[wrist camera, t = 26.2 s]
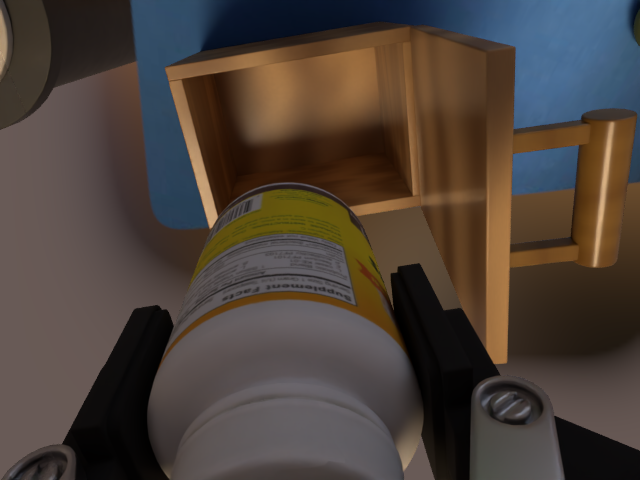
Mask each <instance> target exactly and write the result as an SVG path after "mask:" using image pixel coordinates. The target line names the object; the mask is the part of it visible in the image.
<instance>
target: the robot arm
mask: <svg viewBox="0 0 640 480" xmlns="http://www.w3.org/2000/svg"><path fill="white" fill-rule="evenodd" d="M12 52H13V34H12V28H11V22H10V18H9V15H8V13H7V10H6V7H5V4H4V2H3V0H0V81H1V80H2V79H3V78H4V76H5V74H6V72H7V70H8V68H9V65H10V61H11V57H12ZM391 286H392V296H393V306H394V313H395V316H396V318H397V321H398V324H399V327H400V330H401V333H402V335H403V338H404V341H405V344H406V347H407V349H408V352H409V355H410V358H411V361H412V364H413V367H414V370H415V372H416V375H417V378H418V382H419V386H420V389H421V394H422V399H423V410H424V419H423V427H422V433H421V436H422V439H423V443H424V446H425V449H426V453H427V456H428V459H429V462H430V466H431V468H432V472H433V475H434V478H435V480H640V451H639V450H637V449H634V448H632V447H629V446H627V445H625V444H622V443H620V442H617V441H615V440H612V439H610V438H608V437H605V436H603V435H600V434H598V433H595V432H593V431H590V430H588V429H586V428H583V427H581V426H578V425H576V424H573V423H571V422H568V421H566V420H564V419H561V418H559V417H556V416H554V412H553V407H552V404H551V401H550V399H549V397H548V395H547V394H546V393H545V392H544V391H543V390H542V389H541V388H540V387H539V386H537V385H535V384H534V383H532V382H530V381H528V380H525V379H523V378H519V377H514V376H508V375H507V376H501V375H500V374H499V372H498V370H497V368H496V366H495V365H494V363H493V361H492V359H491V358H490V356H489V354H488V352H487V351H486V349H485V347H484V345H483V344H482V342H481V340H480V339H479V337H478V335H477V333H476V332H475V330H474V328H473V326H472V325H471V323H470V321H469V319H468V318H467V316H466V314H465V312H464V311H463V310H462V309H461V308H457V309H451V310H443V308H442V306H441V304H440V302H439V300H438V298H437V296H436V294H435V292H434V290H433V288H432V286H431V284H430V283H429V281H428V279H427V277H426V275H425V273H424V271H423V269H422V267H421V265H420V264H419V263H418V264H411V265H405V266H399V267H398V272H397V273H391ZM173 328H174V325H173V322H172V320H171V317H170V314H169V312H168V311H167V310H162V309H161V308H160V306H158V305H155V306H149V307H142V308H136V309H135V310H134V311H133V312H132V314H131V316H130V318H129V321H128V322H127V324H126V326H125V328H124V330H123V332H122V333H121V336H120V337H119V339H118V341H117V343H116V345H115V347H114V349H113V351H112V353H111V354H110V356H109V358H108V360H107V362H106V364H105V365H104V367H103V368H102V370H101V371H100V373H99V375H98V377H97V379H96V381H95V383H94V385H93V386H92V388H91V390H90V392H89V394H88V396H87V398H86V400H85V401H84V403H83V405H82V407H81V409H80V411H79V413H78V415H77V417H76V419H75V421H74V422H73V424H72V426H71V428H70V430H69V432H68V434H67V436H66V438H65V439H64V441H63V443H62V444H61V445H60V444H59V445H50V446H47V447H43V448H40V449H38V450H36V451H34V452H32V453H30V454H28V455H27V456H25V457H24V458H22V459H21V460H19V461H18V462H17V463H16V464H15V465H14V466H13V467H12V468H10V469H9V470H8V471H7V473H6V474H5V475H4V477H3V478H2V479H1V480H170V479H169V478H168V477H167V476H166V474H165V473H164V471H163V470H162V468H161V467H160V465H159V463H158V462H157V459H156V457H155V454H154V452H153V449H152V447H151V444H150V440H149V435H148V427H147V410H148V403H149V398H150V393H151V390H152V386H153V383H154V379H155V376H156V374H157V371H158V368H159V366H160V363H161V360H162V357H163V355H164V352H165V349H166V346H167V344H168V341H169V339H170V336H171V333H172V330H173Z"/></svg>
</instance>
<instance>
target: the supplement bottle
mask: <svg viewBox="0 0 640 480" xmlns="http://www.w3.org/2000/svg"><path fill="white" fill-rule="evenodd" d="M423 419H424V410H423V399H422V394H421V389H420V386H419V382H418V378H417V375H416V372H415V370H414V367H413V364H412V361H411V358H410V355H409V352H408V349H407V347H406V344H405V341H404V338H403V335H402V333H401V330H400V327H399V324H398V321H397V318H396V316H395V313H394V310H393V308H392V305H391V302H390V299H389V296H388V294H387V291H386V288H385V285H384V281H383V279H382V277H381V274H380V271H379V268H378V265H377V262H376V259H375V257H374V254H373V252H372V248H371V245H370V243H369V240H368V237H367V235H366V233H365V230H364V228H363V226H362V224H361V223H360V221H359V219H358V218H357V216H356V215H355V214H354V212H353V211H352V210H351V209H350V208H349V207H348V206H347V205H346V204H345V203H344V202H343V201H341V200H340V199H339V198H337V197H336V196H334V195H332V194H331V193H329V192H327V191H325V190H322V189H320V188H318V187H314V186H311V185H307V184H302V183H274V184H269V185H265V186H261V187H258V188H255V189H253V190H251V191H249V192H247V193H245V194H243V195H241V196H240V197H238V198H237V199H236V200H234V201H233V202H232V203H231V204H230V205H229V206H227V207H226V208H225V210H224V211H223V212H222V213H221V214H220V216H219V217H218V218H217V220H216V222H215V223H214V225H213V227H212V229H211V231H210V233H209V235H208V238H207V241H206V243H205V246H204V248H203V251H202V253H201V255H200V258H199V261H198V263H197V267H196V269H195V272H194V275H193V277H192V279H191V282H190V285H189V287H188V290H187V293H186V296H185V298H184V301H183V304H182V306H181V309H180V312H179V314H178V317H177V320H176V323H175V325H174V328H173V330H172V333H171V336H170V339H169V341H168V344H167V346H166V349H165V352H164V355H163V357H162V360H161V363H160V366H159V368H158V371H157V374H156V376H155V379H154V383H153V386H152V390H151V393H150V398H149V403H148V410H147V427H148V435H149V440H150V444H151V447H152V449H153V452H154V454H155V457H156V459H157V462H158V463H159V465H160V467H161V468H162V470H163V471H164V473H165V474H166V476H167V477H168V478H169V479H170V480H404V470H405V469H406V468H407V466H408V464H409V463H410V461H411V459H412V457H413V455H414V453H415V451H416V449H417V446H418V443H419V440H420V436H421V433H422V427H423Z"/></svg>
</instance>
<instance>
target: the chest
mask: <svg viewBox="0 0 640 480" xmlns="http://www.w3.org/2000/svg"><path fill="white" fill-rule="evenodd" d="M411 26H414V25H406V24H397V23H389V22H380V21H379V22H373V23H367V24H362V25H356V26H350V27H344V28H338V29H332V30H326V31H320V32H314V33H308V34H302V35H296V36H290V37H284V38H278V39H272V40H266V41H260V42H254V43H248V44H242V45H236V46H230V47H224V48H218V49H212V50H206V51H201V52H198V53H196V54H194V55H191V56H189V57H187V58H185V59H182V60H180V61H178V62H176V63H173V64H171V65H169V66H166V67H165V70H166V74H167V77H168V80H169V85H170V88H171V92H172V96H173V99H174V103H175V106H176V110H177V114H178V117H179V121H180V124H181V128H182V132H183V135H184V139H185V142H186V146H187V149H188V153H189V157H190V160H191V164H192V167H193V171H194V175H195V178H196V182H197V185H198V189H199V193H200V196H201V200H202V203H203V207H204V211H205V214H206V218H207V221H208V225H209V228H210V231H211V229H212V227H213V225H214V223H215V222H216V220H217V218H218V217H219V216H220V214H221V213H222V212H223V211H224V210H225V208H226V207H227V206H229V205H230V204H231V203H232V202H233V201H234V200H236V199H237V198H238V197H240V196H241V195H243V194H245V193H247V192H249V191H251V190H253V189H255V188H258V187H261V186H265V185H269V184H274V183H302V184H307V185H311V186H314V187H318V188H320V189H322V190H325V191H327V192H329V193H331V194H332V195H334V196H336V197H337V198H339V199H340V200H341V201H343V202H344V203H345V204H346V205H347V206H348V207H349V208H350V209H351V210H352V211H353V212H354V214H355V215H356V216H360V215H366V214H372V213H379V212H385V211H391V210H397V209H404V208H410V207H416V206H421V197H420V181H419V165H418V149H417V133H416V117H415V101H414V85H413V69H412V53H411V37H410V27H411Z"/></svg>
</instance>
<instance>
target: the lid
mask: <svg viewBox="0 0 640 480" xmlns="http://www.w3.org/2000/svg"><path fill="white" fill-rule="evenodd" d="M410 37H411V53H412V69H413V85H414V101H415V117H416V133H417V149H418V165H419V181H420V197H421V209H422V211H423V214H424V216H425V218H426V221H427V223H428V225H429V228H430V230H431V233H432V235H433V238H434V240H435V242H436V245H437V247H438V250H439V252H440V255H441V257H442V259H443V262H444V264H445V266H446V269H447V271H448V274H449V276H450V279H451V281H452V283H453V286H454V288H455V291H456V293H457V295H458V298H459V300H460V303H461V305H462V308H463V310H464V312H465V314H466V316H467V318H468V319H469V321H470V323H471V325H472V326H473V328H474V330H475V332H476V333H477V335H478V337H479V339H480V340H481V342H482V344H483V345H484V347H485V349H486V351H487V352H488V354H489V356H490V358H491V359H492V361H493V363H494V364H501V363H507V347H508V310H509V309H508V308H509V272H510V271H509V270H510V268H511V267H520V266H528V265H537V264H546V263H555V262H564V261H574V262H575V263H577V264H580V265H583V266H587V267H594V268H601V267H607V266H611V265H613V264H614V263H615V262H616V261H617V257H618V249H619V242H620V235H621V228H622V221H623V214H624V206H625V199H626V192H627V185H628V178H629V170H630V163H631V156H632V149H633V142H634V135H635V127H636V120H637V113H636V112H634V111H632V110H627V109H616V108H610V109H598V110H592V111H589V112H586V113H584V114H583V115H582V116H581V120H577V121H569V122H562V123H555V124H548V125H540V126H533V127H526V128H519V129H513V124H514V87H515V50H516V49H515V47H514V46H510V45H505V44H501V43H497V42H493V41H489V40H485V39H481V38H477V37H472V36H468V35H464V34H460V33H456V32H452V31H448V30H443V29H439V28H435V27H431V26H427V25H417V26H411V27H410ZM575 145H579V149H578V161H577V172H576V183H575V195H574V206H573V217H572V228H571V237H568V238H560V239H551V240H542V241H534V242H525V243H517V244H510V235H511V233H510V232H511V198H512V161H513V154H515V153H523V152H530V151H538V150H545V149H552V148H560V147H567V146H575Z"/></svg>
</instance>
